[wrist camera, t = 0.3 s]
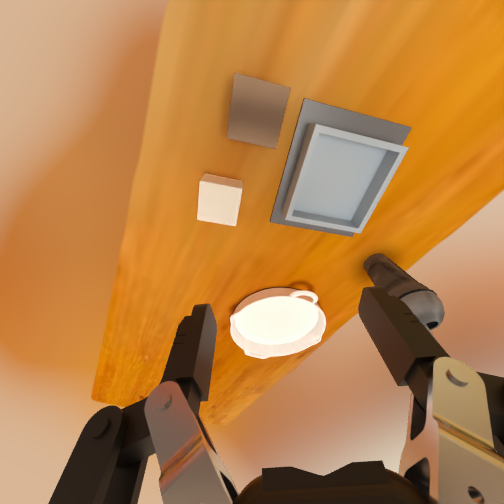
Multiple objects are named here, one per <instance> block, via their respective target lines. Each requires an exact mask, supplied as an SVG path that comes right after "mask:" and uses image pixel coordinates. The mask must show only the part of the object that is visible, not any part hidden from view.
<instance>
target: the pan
mask: <svg viewBox="0 0 504 504" xmlns="http://www.w3.org/2000/svg"><path fill="white" fill-rule="evenodd" d="M317 301H318V296H317V295H316V294H315V293H313V292H310V291H300V290H296V289H291V288H281V287H280V288H270V289H265V290H261V291H259V292H256V293H254V294H252V295H250V296H248V297H247V298H245V299H244V300H243V301H242V302H240V304H239V305H238V306H237V307H236V309H235V311H234V314H233V315H232V316H231V317H230V322H231V328H230V331H231V336H232V338H233V340H234V341H235V343H236V344H237V345H238V346H240V347H241V348H242V349H244V352H245V354H246V355H248V356H252V357H256V358H262V359H265V358H268V357H271V356H284V355H290V354H293V353H297V352H299V351H302V350H304V349H306V348H308V347H310V346H311V345H314V344H317V343H318V342H320V340H321V338H322V334H323V332H324V331H325V327H326V318H325V315H324V313H323V312H322V310H321V309H320V307H319V305H318V303H317ZM249 352H251V353H249ZM252 353H254V354H252ZM256 354H257V355H256ZM261 355H263V356H261Z"/></svg>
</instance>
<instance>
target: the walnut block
mask: <svg viewBox="0 0 504 504" xmlns="http://www.w3.org/2000/svg"><path fill="white" fill-rule="evenodd" d="M289 92H290V88H289V87H286V86H282V85H278V84H275V83H271V82H267V81H264V80H260V79H257V78H253V77H249V76H246V75H242V74H238V73H235V74H234V82H233V90H232V98H231V106H230V114H229V123H228V131H227V138H229V139H233V140H238V141H242V142H246V143H251V144H255V145H259V146H264V147H268V148H272V149H276V146H277V141H278V137H279V133H280V129H281V125H282V121H283V117H284V113H285V109H286V105H287V101H288V96H289Z"/></svg>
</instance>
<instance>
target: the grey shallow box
mask: <svg viewBox="0 0 504 504" xmlns="http://www.w3.org/2000/svg"><path fill="white" fill-rule="evenodd" d="M410 130H411V127H408V126H404V125H400V124H397V123H393V122H389V121H386V120H382V119H378V118H375V117H371V116H367V115H363V114H360V113H356V112H352V111H349V110H345V109H341V108H338V107H334V106H330V105H327V104H323V103H319V102H316V101H312V100H308V99H304V100H303V104H302V107H301V111H300V115H299V118H298V122H297V125H296V129H295V133H294V136H293V140H292V143H291V147H290V151H289V154H288V158H287V161H286V165H285V168H284V172H283V176H282V179H281V183H280V186H279V190H278V194H277V197H276V201H275V204H274V208H273V212H272V215H271V219H270V222H272V223H277V224H283V225H289V226H294V227H300V228H305V229H311V230H317V231H322V232H328V233H333V234H339V235H345V236H350V237H352V236H353V234H354V233H361V232H362V230H363V228H364V226H365V225H366V223H367V221H368V219H369V218H370V216H371V214H372V212H373V210H374V209H375V207H376V205H377V203H378V202H379V200H380V198H381V196H382V194H383V193H384V191H385V189H386V187H387V186H388V184H389V182H390V180H391V178H392V177H393V175H394V173H395V171H396V170H397V168H398V166H399V164H400V163H401V161H402V159H403V157H404V155H405V154H406V152H407V150H408V147H405V146H402V144H403V142H404V141H405V139H406V137H407V135H408V133H409V131H410Z"/></svg>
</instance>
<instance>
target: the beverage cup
mask: <svg viewBox="0 0 504 504" xmlns="http://www.w3.org/2000/svg"><path fill="white" fill-rule="evenodd" d="M364 268H365V269H366V271H367V273H368V275H369V277H370V278H371V280H372V282H373V283H374V285H375V286H381V287H383V288H384V289H385V290H386V292H387V293H388V294H389V296H393V295H394V296H396V297H397V298H399V299H400V300H402V301H403V302H404V303H406V305H407V306H408V307H409V308H410V309H411V311H412V312H413V314H415V315H416V317H417V318H418V319H419V320H420V322H421V323H422V324H423V325H424V326H425V327H426V329H427V330H428V331H429V332H430V333H431V335H432V336H433V337H434V335H433V334H432V332H431V331H430V330H432V329H434V328H437V327H438V326H439V325H440V324H441V323H442V321H443V318H444V313H445V312H444V307H443V304H442V302H441V300H440V299H439V298H438V297H437V294H436V293H435V292H434V291H433V290H430V289H428V288H427V287H426V286H424V285H423V284H421V283H419V282H417V281H416V280H415V279H413V278H412V277H411V276H410V275H409V274H407V273H406V272H405V271H404V270H402V269H401V268H400V267H399V266H397V265H396V264H395V263H394V262H392V261H391V260H390V259H389V258H387V257H386V256H384V255H383V254H374V255H372V256H370V257H369V258H367V260H366V261H365V263H364ZM434 338H435V337H434ZM435 339H436V338H435ZM436 341H437V340H436ZM437 342H438V341H437Z"/></svg>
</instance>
